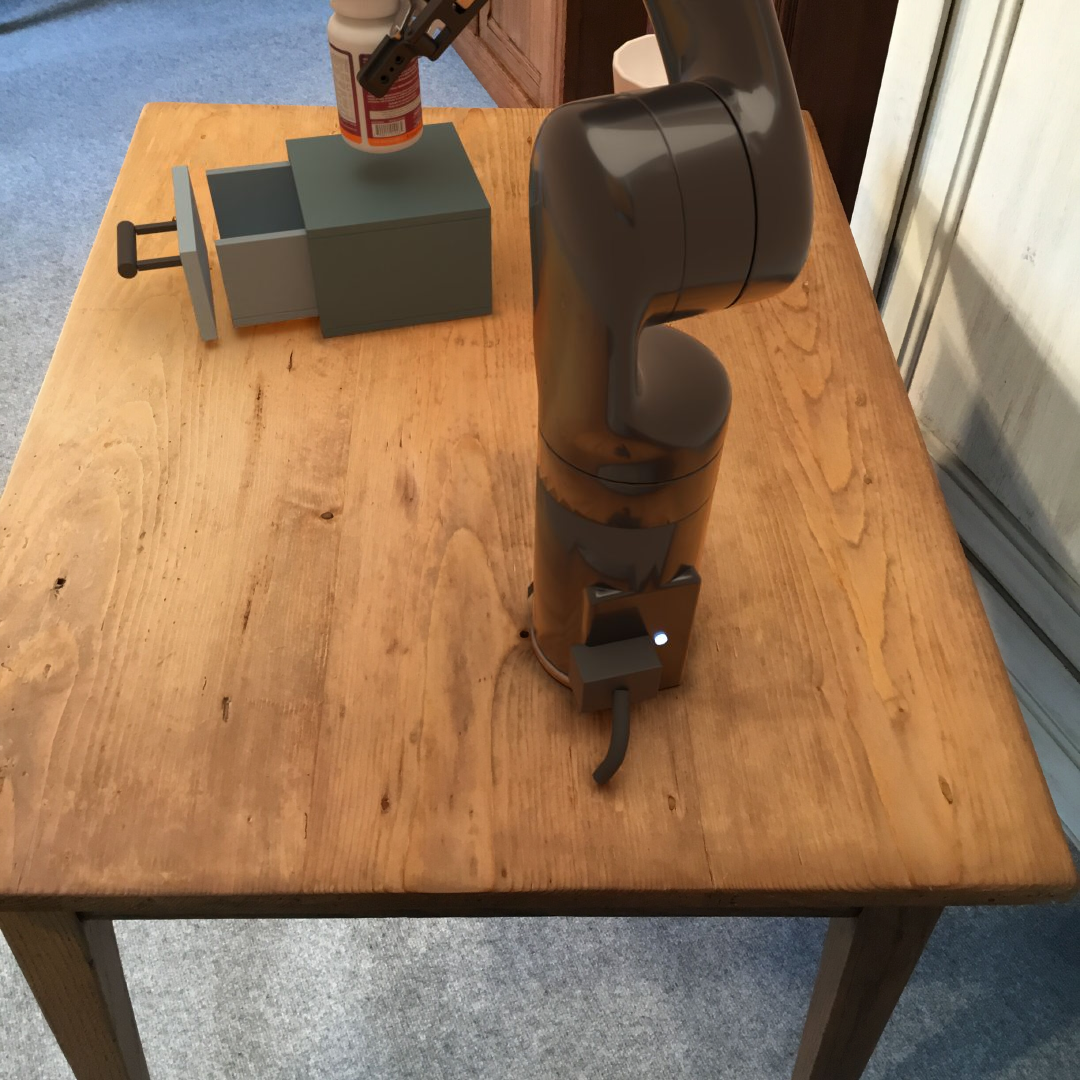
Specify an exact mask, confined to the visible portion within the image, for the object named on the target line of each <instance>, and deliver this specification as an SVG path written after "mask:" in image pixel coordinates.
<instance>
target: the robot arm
mask: <svg viewBox="0 0 1080 1080" xmlns="http://www.w3.org/2000/svg"><path fill="white" fill-rule="evenodd" d="M398 1H399V3H400V9H399V11H398V14H397V16H396V18H395V20H394V23H393V25H392V27H391V30H390V36H389V35H388V34H386V35H385V37H384V38H383V40H382V41H381V42H380V44H379V45H378V46H377V48H376V49H375V50H374V52H373V53H372V54H371V56H370V57H369V58H368V60H367V61H366V62H365V64H364V65H363V66H362V68H361V69H360V71H359V72H358V73H357V76H356V79H357V81H358V83H359V84H360V86H361V87H362V88H364V89H365V90H366V91H368V92H369V93H370V94H372V95H373V96H374V97H376V98H382V97H384V96H385V95H386V93H387V92H388V91H389V89H390V88H391V87H392V85H393V84H394V83H395V81H396V80H397V79H398V77H399V76H400V75H401V73H402V72H403V71H404V70H405V68H406V67H407V66H408V64H409V63H410V62H411V60H412V59H413V58H414V57H416V58H417V59H418V60H419V59H421V58H423V57H424V58H427V59H428V60H429V61H430V62H432V63H433V62H436V61H437V60H439V58H440V57H441V56H442V55H443V54H444V53H445V52H446V51H447V49H448V48H449V47H450V46H451V45H452V43H453V42H454V41H455V40H456V39H457V38H458V36H459V35H460V34H461V33H462V32H463V31H464V30H465V29H466V27H467V26H468V25H469V24H470V23H471V22H472V20H473V19H474V18H475V17H476V16H477V15H478V13H479V12H481V10H482V9H483V8H484V6H485V5H486V4H487V3H488V2H489V0H398ZM641 1H642V3H643V5H644V7H645V10H646V14H647V16H648V19H649V22H650V24H651V27H652V30H653V34H655V37H656V40H657V43H658V46H659V50H660V53H661V56H662V60H663V64H664V68H665V72H666V75H667V79H668V85H662V86H656V87H650V88H644V89H638V90H632V91H626V92H620V93H615V92H614V93H609V94H603V95H598V96H591V97H587V98H581V99H577V100H573V101H568V102H565V103H563V104H560V105H559V106H557V107H555V108H553V109H552V110H550V112H549V113H548V114H547V116H546V117H545V118H544V119H543V121H542V123H541V124H540V126H539V128H538V131H537V133H536V136H535V139H534V142H533V146H532V149H531V156H530V160H529V173H528V186H527V187H528V188H527V190H528V192H527V193H528V194H527V195H528V225H529V226H528V227H529V245H530V246H529V247H530V265H531V289H532V290H531V291H532V292H531V293H532V339H533V340H532V341H533V343H532V344H533V357H534V366H535V375H536V385H537V397H538V398H537V442H536V443H537V445H536V446H537V447H536V448H537V449H536V468H535V469H536V471H535V508H534V541H533V542H534V543H533V544H534V546H533V579H532V582H531V583H530V584H529V585H528V586H527V590H526V591H527V595H526V597H527V600H529V598H530V597H531V596H532V597H533V598H532V613H531V617H530V639H531V645H532V648H533V651H534V653H535V656H536V657H537V660H538V661H539V663H540V664H541V665H542V667H543V668H544V669H545V670H546V672H548V674H549V675H551V676H552V677H553V678H554V679H555V680H556V681H558V682H559V683H561V684H562V685H564V686H566V687H567V688H569V689H571V690H572V694H573V696H574V698H575V702H576V704H577V707H578V710H579V713H580V714H581V715H584V714H588V713H593V712H598V711H603V710H607V709H611V733H610V734H611V735H610V740H609V746H608V749H607V753H606V755H605V757H604V759H603V760H602V761H601V762H600V763H599V765H598V766H597V767H596V768H595V769H594V771H593V772H592V774H591V775H592V780H593V781H594V782H595V783H597V784H598V785H601V786H604V785H607V784H608V783H609V782H610V780H612V778H613V776H614V775H615V774H616V773H617V772H618V770H619V769H620V768H621V766H622V765H623V762H624V760H625V758H626V754H627V751H628V748H629V742H630V731H631V704H635V703H639V702H644V701H648V700H653V699H656V698H657V697H658V694H659V690H661V689H667V688H670V687H675V686H678V685H680V684H682V682H683V677H684V672H685V667H686V662H687V657H688V653H689V647H690V644H691V639H692V632H693V627H694V624H695V618H696V613H697V608H698V603H699V599H700V593H701V590H702V589H701V588H702V585H703V584H702V583H703V581H702V576H701V575H700V568H701V562H702V558H703V552H704V547H705V543H706V537H707V531H708V526H709V522H710V517H711V511H712V507H713V506H712V505H713V501H714V495H715V491H716V485H717V480H718V477H719V472H720V466H721V463H722V462H721V461H722V456H723V450H724V446H725V441H726V437H727V433H728V429H729V422H730V418H731V413H732V405H733V388H732V387H733V386H732V383H731V379H730V376H729V373H728V371H727V369H726V367H725V365H724V364H723V362H722V361H721V360H720V359H719V357H718V355H716V354H715V353H714V351H713V350H712V349H710V348H709V347H708V346H707V345H705V343H703V342H702V341H700V340H699V339H697V338H696V337H695V336H692V335H690V334H689V333H688V332H685V331H682V330H680V329H678V328H676V327H674V326H670V325H667V324H668V323H672V322H677V321H682V320H685V319H690V318H694V317H698V316H702V315H703V316H704V315H707V314H711V313H716V312H719V311H722V310H723V311H724V310H729V309H733V308H738V307H742V306H746V305H749V304H753V303H757V302H761V301H764V300H768V299H770V298H773V297H776V296H778V295H780V294H783V293H784V292H786V291H787V290H788V289H789V288H790V287H791V286H792V285H793V284H794V283H795V282H796V281H797V280H798V278H800V276H801V274H802V272H803V270H804V268H805V265H806V263H807V260H808V258H809V255H810V251H811V247H812V241H813V234H814V225H815V190H814V189H815V188H814V176H813V169H812V161H811V155H810V150H809V143H808V137H807V133H806V128H805V123H804V118H803V117H804V116H803V112H802V109H801V105H800V102H799V97H798V93H797V89H796V84H795V81H794V76H793V73H792V68H791V65H790V61H789V57H788V53H787V49H786V46H785V42H784V38H783V34H782V32H781V31H782V30H781V27H780V23H779V20H778V15H777V11H776V8H775V4H774V0H641ZM413 17H415V18H413ZM412 18H413V19H414V21H413V22H412V23H411V24H410V22H411V20H412ZM409 24H410V25H409ZM437 29H441V30H440V32H439V33H438V34H437V35H436V37H435V38H434V35H435V33H436V30H437ZM391 37H392V38H391Z"/></svg>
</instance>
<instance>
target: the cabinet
mask: <svg viewBox="0 0 1080 1080" xmlns="http://www.w3.org/2000/svg"><path fill="white" fill-rule="evenodd" d="M285 147H286V154H287V159H288V160H287V161H290V165H291V169H292V174H293V178H294V182H295V187H296V191H297V195H298V200H299V204H300V208H301V213H302V217H303V221H304V226H305V230H306V234H307V241H308V248H309V254H310V260H311V267H312V273H313V280H314V286H315V292H316V299H317V305H318V312H319V316H317V318H318V322H319V326H320V331H321V334H322V338H323V339H329V338H335V337H337V338H338V337H343V336H350V335H358V334H365V333H371V332H379V331H385V330H393V329H398V328H404V327H413V326H420V325H426V324H433V323H441V322H446V321H456V320H461V319H467V318H475V317H481V316H488V315H493V257H492V256H493V253H492V251H493V250H492V249H493V247H492V246H493V245H492V244H493V243H492V241H493V240H492V207H491V204H490V202H489V199H488V197H487V195H486V193H485V192H484V191H485V190H484V188H483V187H482V185H481V183H480V180H479V177H478V176H477V173H476V171H475V169H474V167H473V164H472V162H471V160H470V158H469V156H468V154H467V151H466V149H465V147H464V145H463V142H462V140H461V138H460V136H459V133H458V131H457V129H456V126H455V124H454V122H453V121H447V122H437V123H428V124H423V132H422V135H421V137H420V138H419V140H418V141H417V142H415V143H414V144H413V145H411V146H409V147H407V148H405V149H402V150H399V151H395V152H391V153H382V154H379V153H369V152H364V151H360V150H358V149H355V148H353V147H351V146H350V145H349V144H347V143H346V142H345V141H344V139H343V137H342V135H341V133H337V134H335V133H334V134H326V135H316V136H308V137H298V138H291V139H289V138H288V139H285Z"/></svg>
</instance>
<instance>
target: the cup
mask: <svg viewBox="0 0 1080 1080" xmlns="http://www.w3.org/2000/svg"><path fill="white" fill-rule="evenodd" d="M612 75H613V91H614V94H615V93H620V92H626V91H632V90H638V89H644V88H650V87H656V86H662V85H668V79H667V75H666V72H665V68H664V64H663V60H662V56H661V53H660V50H659V46H658V43H657V40H656V37H655V33H652V34H645V35H642V36H639V37H636V38H633V39H631V40H628V41H626V42H625V43H624V44H622V45H621V46H620V47H618V49H616V50H615V51H614V52H613V58H612Z"/></svg>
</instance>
